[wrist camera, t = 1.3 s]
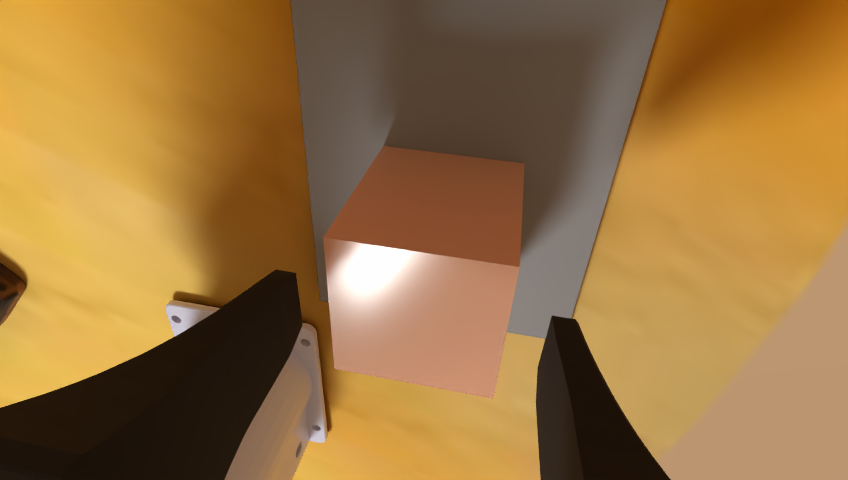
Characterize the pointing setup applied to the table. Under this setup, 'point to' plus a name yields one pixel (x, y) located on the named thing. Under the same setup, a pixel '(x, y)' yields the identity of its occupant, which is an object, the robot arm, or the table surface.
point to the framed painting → (9, 291)
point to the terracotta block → (426, 269)
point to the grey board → (479, 111)
